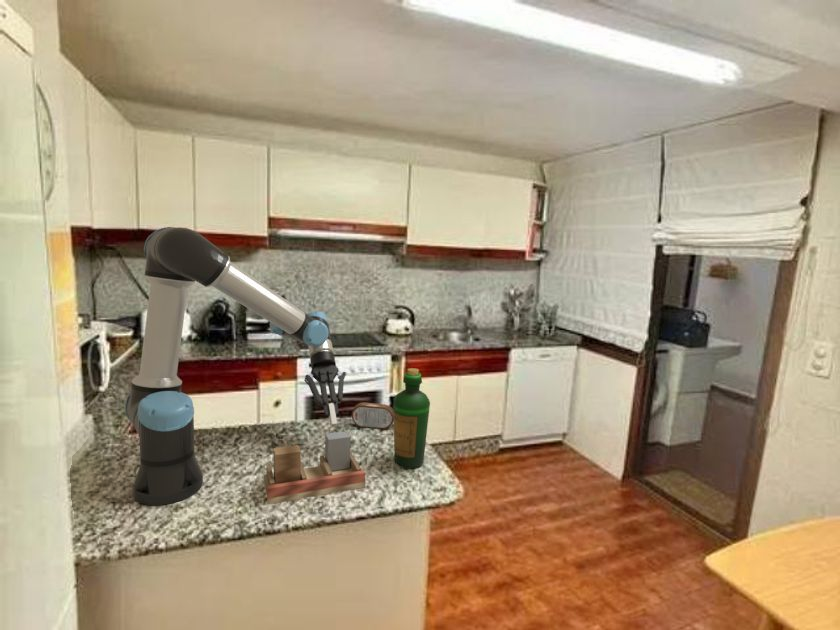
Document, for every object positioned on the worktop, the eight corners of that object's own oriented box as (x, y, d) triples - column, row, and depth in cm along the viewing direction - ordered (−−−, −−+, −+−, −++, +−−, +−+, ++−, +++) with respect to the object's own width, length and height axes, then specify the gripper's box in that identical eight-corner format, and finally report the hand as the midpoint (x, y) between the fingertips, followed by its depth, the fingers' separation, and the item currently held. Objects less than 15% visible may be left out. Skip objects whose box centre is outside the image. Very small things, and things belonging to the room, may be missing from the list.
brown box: (275, 489, 111) (275, 455, 110) (273, 480, 115) (273, 447, 114) (300, 485, 113) (300, 451, 112) (297, 476, 117) (297, 443, 116)
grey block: (327, 471, 121) (328, 439, 119) (324, 463, 125) (324, 432, 124) (349, 468, 123) (350, 436, 122) (345, 460, 127) (346, 430, 126)
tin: (394, 427, 157) (395, 404, 156) (393, 431, 154) (394, 407, 153) (352, 423, 159) (353, 400, 157) (350, 427, 156) (350, 403, 154)
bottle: (386, 456, 135) (389, 365, 131) (419, 452, 139) (423, 364, 135) (396, 473, 125) (401, 376, 121) (432, 468, 129) (437, 373, 125)
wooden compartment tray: (268, 504, 108) (268, 486, 107) (263, 480, 118) (263, 463, 118) (364, 487, 117) (365, 471, 117) (352, 466, 128) (353, 451, 127)
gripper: (339, 360, 149) (352, 427, 137) (299, 363, 144) (309, 433, 131) (344, 348, 143) (358, 417, 131) (302, 350, 138) (313, 423, 126)
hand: (333, 425), depth 131 cm, fingers closed
